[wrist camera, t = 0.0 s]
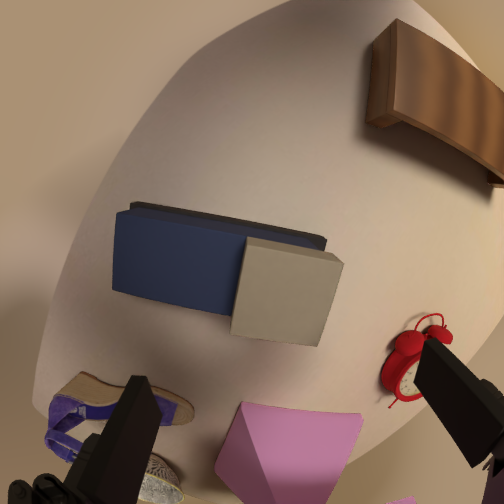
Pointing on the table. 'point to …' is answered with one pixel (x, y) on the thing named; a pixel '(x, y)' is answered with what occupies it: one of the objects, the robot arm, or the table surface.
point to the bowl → (160, 483)
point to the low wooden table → (436, 95)
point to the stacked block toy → (228, 270)
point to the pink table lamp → (287, 454)
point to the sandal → (99, 410)
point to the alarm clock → (410, 360)
